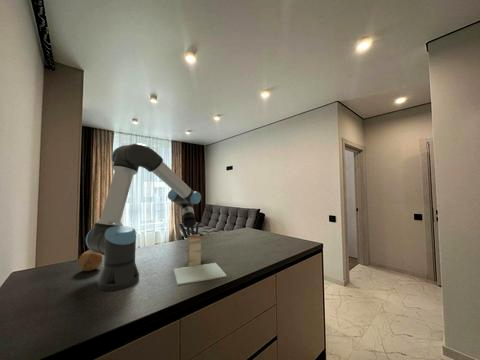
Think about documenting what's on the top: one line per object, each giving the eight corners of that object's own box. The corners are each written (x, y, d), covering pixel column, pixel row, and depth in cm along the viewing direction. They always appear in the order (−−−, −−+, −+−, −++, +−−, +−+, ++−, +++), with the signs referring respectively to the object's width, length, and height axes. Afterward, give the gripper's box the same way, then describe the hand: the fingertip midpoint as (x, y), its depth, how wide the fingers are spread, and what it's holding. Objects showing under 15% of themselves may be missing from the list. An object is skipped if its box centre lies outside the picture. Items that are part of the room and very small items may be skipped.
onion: (103, 265, 108) (104, 246, 108) (99, 272, 99) (99, 251, 99) (81, 268, 104) (82, 248, 105) (74, 275, 95) (75, 253, 95)
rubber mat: (173, 269, 102) (173, 268, 102) (215, 263, 111) (215, 262, 111) (177, 285, 86) (177, 283, 86) (226, 276, 94) (226, 275, 94)
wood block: (187, 262, 112) (187, 235, 113) (198, 261, 114) (198, 234, 115) (189, 266, 107) (189, 237, 107) (200, 265, 109) (200, 236, 110)
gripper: (197, 218, 138) (202, 249, 122) (177, 219, 133) (180, 252, 117) (199, 211, 134) (204, 243, 117) (178, 211, 128) (181, 245, 112)
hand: (192, 247), depth 117 cm, fingers closed
